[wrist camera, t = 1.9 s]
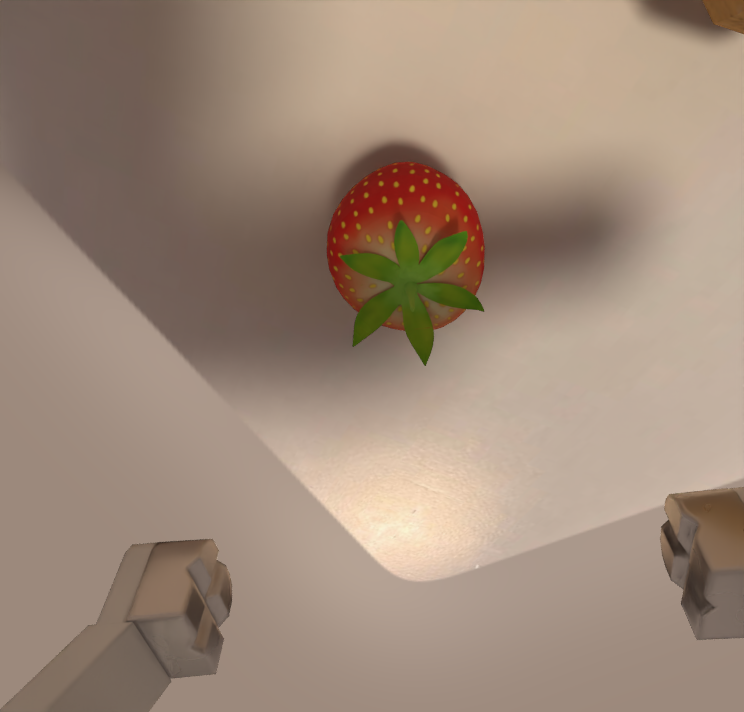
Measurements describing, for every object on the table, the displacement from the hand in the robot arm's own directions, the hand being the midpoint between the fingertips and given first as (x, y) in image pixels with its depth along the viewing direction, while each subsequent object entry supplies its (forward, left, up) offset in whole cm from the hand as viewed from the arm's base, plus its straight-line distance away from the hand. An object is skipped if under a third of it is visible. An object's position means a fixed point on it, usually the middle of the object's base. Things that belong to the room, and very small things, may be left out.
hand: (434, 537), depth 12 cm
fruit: (0, 0, -16) cm, 16 cm away
